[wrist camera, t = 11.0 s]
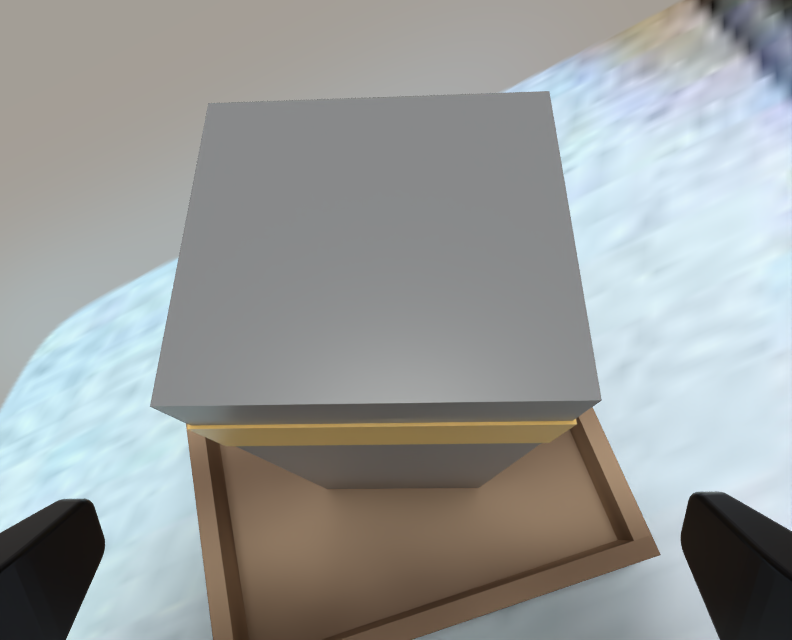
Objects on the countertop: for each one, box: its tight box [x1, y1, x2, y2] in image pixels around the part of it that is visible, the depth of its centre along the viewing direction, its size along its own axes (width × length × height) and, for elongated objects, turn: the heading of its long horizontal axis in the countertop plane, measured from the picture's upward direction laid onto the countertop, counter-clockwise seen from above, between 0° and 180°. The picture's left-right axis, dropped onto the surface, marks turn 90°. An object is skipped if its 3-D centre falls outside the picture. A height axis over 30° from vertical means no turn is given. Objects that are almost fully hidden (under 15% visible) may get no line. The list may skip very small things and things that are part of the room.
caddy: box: [150, 91, 601, 489], centre depth 13 cm, size 5×6×13 cm
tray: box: [186, 407, 661, 640], centre depth 18 cm, size 12×14×2 cm
